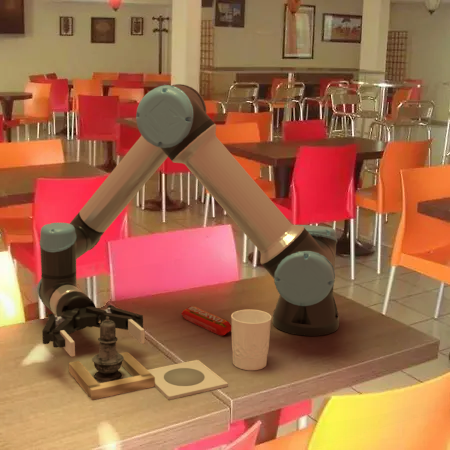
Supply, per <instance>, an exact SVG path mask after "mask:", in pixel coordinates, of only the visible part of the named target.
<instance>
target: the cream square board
mask: <svg viewBox="0 0 450 450" xmlns="http://www.w3.org/2000/svg"><path fill="white" fill-rule="evenodd" d="M147 370H148V371H149V372H150V373H151V374H152V375H153V376H154V377H155V386H154V388H156V389H157V390H158V391H159V392H160V393H161V394H162V395H163V396H164V397H165V398H166V399H167V400H168V401H169V400H176V399H179V398H183V397H186V396H187V397H188V396H192V395H197V394H200V393H206V392H209V391H213V390H219V389H224V388H227V387H229V383H228V382H227V381H226V380H224V378H222V377H221V376H219V375H218V374H217V373H216V372H214V371H213V370H212V369H210V368H209V367H208V366H206V365H205V364H204V363H203V362H201V361H200V360H199V359H195V360H189V361H185V362H184V361H183V362H179V363H175V364H169V365H164V366H159V367H155V368H150V369H147Z"/></svg>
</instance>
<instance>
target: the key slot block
mask: <svg viewBox="0 0 450 450" xmlns="http://www.w3.org/2000/svg"><path fill="white" fill-rule="evenodd" d="M118 353H119V352H118ZM119 354H121V355H122V356H123V357H124V360H123V361H122V365H121V367H122V368H124V370H125V371H127V372H128V374H129V375H130V377H125V378H120V379H119V380H114V381H110V382H101V383H99V381H98V380H96V379H95V378H94V375H92V374H91V373H90V372H89V370H87V369H86V367H85V366H84V364H82V363H81V362H80V361H79V360H77V361H73V362H72V361H70V362H68V372H69V373H70V375H71V376H72V377H73V379H75V381H76V382H77V383H78V385H79V386H80V387H81V388H82V389H83V391H84V393H86V395H87V396H88V397H89V399H91V400H92V401H94V400H97V399H98V400H99V399H103V398H107V397H111V396H117V395H122V394H126V393H131V392H135V391H140V390H144V389H150V388H155V377H154V376H153V375H152V374H151V373H150V372H149V371H148V370H149V369H147V368H146V367H145V366H144V365H142V364H141V363H140V362H139V360H137V359H136V358H135V357H134V356H133V355H132V354H130V353H129V351H126V352H125V351H124V352H120V353H119Z"/></svg>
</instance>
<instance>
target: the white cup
mask: <svg viewBox="0 0 450 450" xmlns="http://www.w3.org/2000/svg"><path fill="white" fill-rule="evenodd" d="M230 318H231V319H230V321H231V323H230V324H231V331H230V332H231V350H232V364H233V365H234V367H235V368H238V369H241V370H244V371H245V370H246V371H257V370H262V369H263V368H265V367H267V363H268V362H267V361H268V353H269V348H270V339H271V338H270V337H271V329H272V319H273V316H272V315H271V314H270V313H269V312H266V311H264V310H261V309H251V308H250V309H249V308H248V309H240V310H237V311H236V310H235V311H234V312H232V313H231V315H230Z"/></svg>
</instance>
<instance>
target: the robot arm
mask: <svg viewBox="0 0 450 450" xmlns="http://www.w3.org/2000/svg"><path fill="white" fill-rule="evenodd" d="M135 115H136V116H135V121H136V126H137V129H138V131H139V133H140V137H139V138H138V139H137V140H136V141H135V143H134V144H133V145H132V146H131V147H130V149H129V150H128V151H127V153H126V154H124V156H123V157H122V159H121V160H120V161H119V162H118V163H117V165H116V166H115V167H114V168H113V170H112V171H111V172H110V173H109V174H108V176H107V177H106V178H105V180H104V181H103V182H102V183H101V185H100V186H99V187H98V188H97V189H96V191H95V192H94V193H93V194H92V196H91V197H90V198H89V199H88V200H87V202H85V204H84V206H83V207H82V208H80V210H79V212H78V213H77V214H76V215H75V216H74V218H73V219H72V220H71V221H70V222H69V223H67V222H51V223H46V224H44V225H42V227H41V229H40V239H39V246H40V247H39V249H40V265H41V266H40V267H41V277H40V280H39V281H38V283H37V287H36V289H37V290H36V292H37V295H38V298H39V299H40V301H41V302H42V304H43V305H44V306H45V307H46V308H48V310H49V311H50V312H51V313H49V314H47V321H46V323H45V325H44V327H43V329H42V344H43V345H48V344H50V342H52V347H53V348H63V350H65V351H66V353H67V354H68V355H69V356H70V357H76V347H75V346H76V342H75V340H73V338H72V337H71V336H70V334H72V333H75V332H76V331H81V330H83V329H85V328H93V327H94V328H95V327H96V328H99V329H100V323H101V322H102V321H104V320H106V317H107V316H108V317H109V320H112V321H114V323H115V329H119V330H126V331H127V333H128V334H129V335H130V336H131V337H132V338H134V339H135V341H137V343H140V345H143V344H145V337H146V336H145V335H146V334H145V333H146V332H145V329H144V315H142V314H141V313H140V314H139V313H135V312H132V311H128V310H127V309H126V310H124V309H121V308H119V307H118V308H117V307H116V306H114V305H111V304H109V305H107V307H106V309H101V308H100V307H99V308H98V307H97V306H96V304H95V303H94V301H93V299H91V298H90V297H89V296H88V295H87V294H85V293H84V292H83V291H82V290H81V288H79V287H78V286H77V285H78V284H77V259H79V258H80V257H81V256H82V255H84V254H86V253H87V252H88V251H90V250H93V249H94V248H95V247H96V245H97V244H98V243H99V242H100V240H101V238H102V236H103V235H104V233H105V232H106V231H107V230H108V229H109V227H110V226H111V225H112V224H113V223H114V222H115V220H116V219H117V218H118V216H120V214H121V213H122V212H124V211H123V210H124V209H126V207H127V206H128V205H129V204H130V202H131V201H132V200H133V199H134V198H135V196H136V195H137V194H138V193H139V192H140V191H141V189H142V188H143V187H144V186H145V184H146V183H147V182H148V181H149V180H150V179H151V177H152V176H154V174H155V173H156V172H157V170H158V169H159V168H160V166H162V165H163V163H165V161H166V160H167V159H168V158H169V159H170V160H171V161H172V163H174V164H175V163H176V164H183V165H185V166H186V167H187V169H188V170H189V171H190V172H191V174H192V175H193V176H194V177H195V178H196V179H197V180H198V181H199V183H200V184H201V185H202V187H204V188H205V190H206V191H207V192H208V194H209V195H210V196H211V197H212V198H214V200H215V201H216V203H218V205H219V206H220V207H221V208H222V209H223V210H224V212H225V213H227V216H229V217H230V219H232V221H233V222H234V224H236V225H237V227H238V228H239V229H240V230H241V231H242V232H243V234H245V236H246V237H247V238H248V239H249V240H250V242H251V243H252V244H253V245H254V246H255V247H256V249H257V250H258V251H259V252H260V261H259V263H260V264H261V266H263V268H264V269H265V270H266V271H267V273H268V274H269V275H270V276H271V277H272V279H274V281H273V282H274V285H275V288H276V290H277V293H278V294H279V297H278V299H277V301H276V305H275V308H274V310H273V313H272V325H273V326H274V327H276V328H277V329H278V330H280V331H283V332H284V333H288V334H293V335H297V336H306V337H308V336H311V337H313V336H314V337H315V336H317V337H318V336H325V335H329V334H332V333H334V332H336V331H337V330H339V326H340V315H339V311H338V307H337V304H336V300H335V296H334V286H335V285H334V284H335V281H336V280H335V279H336V271H335V270H336V269H335V267H336V255H337V253H336V252H337V244H338V239H337V231H336V229H334V228H333V227H330V226H329V227H328V226H322V225H314V224H313V225H308V224H293V223H291V222H290V220H289V219H288V218H287V217H286V216H285V214H283V212H282V211H281V210H280V208H279V207H277V206H276V204H275V203H274V202H273V201H272V200H271V198H270V197H269V196H268V195H267V194H266V192H265V191H264V190H263V189H262V188H261V187H260V186H259V184H258V183H257V182H256V181H255V180H254V179H253V177H251V175H250V174H249V173H248V172H247V170H246V169H245V168H244V167H243V166H242V165H241V164H240V162H239V161H238V160H237V159H236V158H235V157H234V155H233V154H232V153H231V152H230V151H229V149H228V148H227V147H226V146H225V145H224V144H223V142H221V141H220V139H219V138H218V137H217V134H216V132H217V124H216V123H215V122H214V121H213V119H212V118H211V117H210V116H209V115H208V114H207V105H206V101H205V100H204V98H203V96H202V95H201V94H200V92H199V91H197V89H195V88H193V87H192V86H189V85H187V84H181V83H177V84H173V85H172V84H171V85H168V84H163V85H159V86H157V87H154V88H153V89H151V90H150V91H148V92H147V93H146V94H145V95H144V96H143V97H142V98H141V99H140V101H139V103H138V106H137V108H136V114H135Z"/></svg>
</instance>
